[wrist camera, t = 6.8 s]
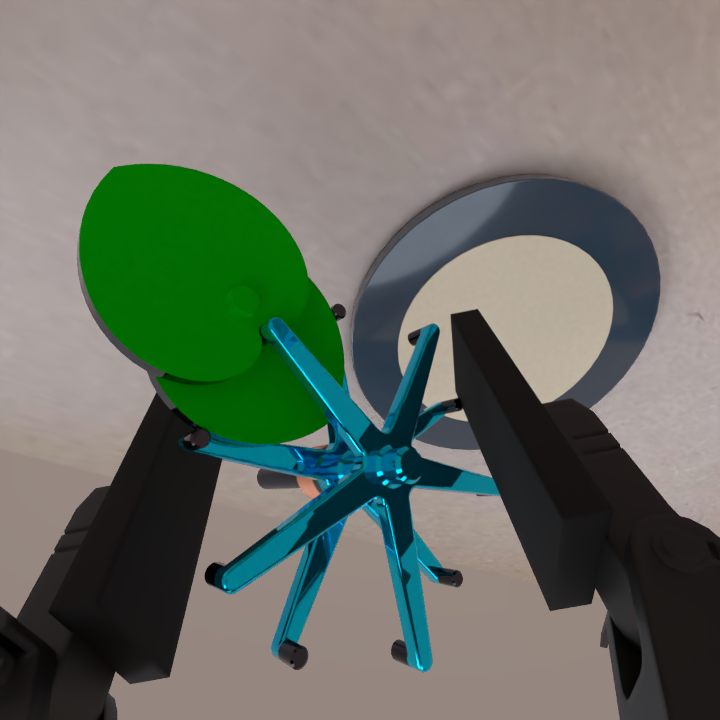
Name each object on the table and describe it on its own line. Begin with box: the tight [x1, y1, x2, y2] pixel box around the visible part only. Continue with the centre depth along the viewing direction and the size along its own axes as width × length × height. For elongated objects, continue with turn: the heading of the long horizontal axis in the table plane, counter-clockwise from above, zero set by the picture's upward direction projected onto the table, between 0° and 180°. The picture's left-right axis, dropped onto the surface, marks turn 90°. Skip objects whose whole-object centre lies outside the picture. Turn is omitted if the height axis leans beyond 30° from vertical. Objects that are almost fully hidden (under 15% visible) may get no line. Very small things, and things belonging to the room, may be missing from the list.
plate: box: [350, 174, 660, 450], centre depth 29 cm, size 20×20×1 cm
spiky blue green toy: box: [77, 164, 500, 672], centre depth 11 cm, size 12×7×8 cm
